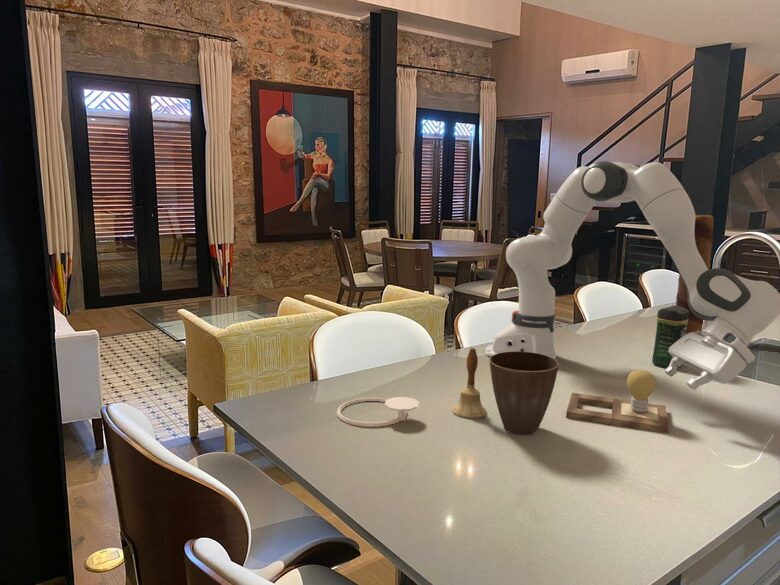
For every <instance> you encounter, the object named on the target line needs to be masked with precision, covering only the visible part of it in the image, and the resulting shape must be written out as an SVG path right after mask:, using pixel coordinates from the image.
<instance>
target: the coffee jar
mask: <svg viewBox="0 0 780 585" xmlns="http://www.w3.org/2000/svg"><path fill="white" fill-rule="evenodd" d="M688 318H689V311H688V310H687V309H686V308H685V307H680V306H676V305H671V306H668V307H667V306H666V307H663V308H659V309H658V310H657V315H656V331H655V340H654V346H653V352H652V358H651V359H652V360H651V362H652V364H653V365H655V366H657V367H661V368H664V369H666V368H668V367H669V365H670V362H671V360H672V358H673V357H672V356H671V355H670V354H669V352H668V350H669V348H670V346H672V345H673V344H674V343H675V342H676V341H678V340H679V339H680V338H682V337H683V336H684V335H686V330H687V324H688ZM679 367H680V366H678V368H679Z"/></svg>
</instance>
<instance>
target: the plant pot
mask: <svg viewBox="0 0 780 585" xmlns="http://www.w3.org/2000/svg"><path fill="white" fill-rule="evenodd" d="M489 357H490V358H488V359H489V368H490V376H491V383H492V389H493V393H494V395H493V396H494V398H495V399H494V400H495V403H496V406H497V410H498V414H499V416H500V419H501V423H502V425H503V427H504V430H505V431H506V432H508V433H511V434H514V435H520V436H530V435H533V434H535V433H537V432H538V430H539V428H540V426H541V423H542V421H543V420H544V417H545V415H546V411H547V409H548V407H549V404H550V401H551V398H552V395H553V391H554V388H555V383H556V379H557V375H558V370H559V365H560V364H559V361H558V360H557V359H554V358H552V357H549V356H546V355H542V354H538V353H531V352H503V353H498V354H495V355H493V356H489Z"/></svg>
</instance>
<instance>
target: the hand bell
mask: <svg viewBox="0 0 780 585" xmlns="http://www.w3.org/2000/svg"><path fill="white" fill-rule="evenodd" d="M478 360H479V358H478V354H477V350H476V347H475V348H474V347H471V348H470V349H469V351H468V353H467V356H466V370H467V383H466V387H465V388H462V389H461V391H460V395H459V396H460V397H459V400H458V402H457V403H456V405H454V406H453V408H452V409H451V411H452V413H453V414H454V415H456V416H457V417H460V418H463V417H465V419H480V418H481V419H482V418H484V417H486V415H487V414H488V413H487V409H486V408H485V407H484V405H482V401H481V394H480V393H481V392H480V390H478V389H477V388H476V387H475V375H476V371H477V368H478V363H479V361H478Z"/></svg>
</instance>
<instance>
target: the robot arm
mask: <svg viewBox="0 0 780 585" xmlns="http://www.w3.org/2000/svg"><path fill="white" fill-rule="evenodd" d="M597 202H603V203H609V204H610V203H611V204H619V203H627V204H630V203H637V205H638V207H639V209H640V211H641V213H642V215H643V216H644V218H645V219H646V221H647V222H648V224H649V225H650V227H651V229H653V231H654V232H655V234H656V235H657V237H658V238H659V240H660V241H661V242H662V244H663V246H664V247H665V249H666V250H667V252H668V254H669V256H670V257H671V259H672V262H673V264H674V265H675V267H676V269H677V272H678V274H679V273H680V275H681V277H682V279H683V281H684V283H685V285H686V288H687V296H688V306H689V308H690V310H691V312H692V313H693V314H694V315H695V316H697V317H698V318H700V319H703V320H705V322H706V321H707V322H708V321H709V322H710V323H709V324H708V325H707V326H706V327H704V330H703V331H697V332H692V333H688V334H686V335H684V336H683V337H682V338H680V339H679V340H678V341H676V342H675V343H674V344H673V345H672V346H670V348H669V350H668V352H669V354H670V355H671V356H672V357H673V358H672V360H671V362H670V365H669V367H666V368H664V373H666V375H667V376H669V377H671V378H672V377H674V375H676V374H677V369H678V368H679V367H681V366H683V365H685V366H687V367H689V368H691V369H693V370H695V371H697V372H698V373H700V375H699V376H698V377H696V378H690V380H689V381H687V382H686V383H687V384H686V385H687V386H688V387H689V388H690V389H692V390H694V391H696V390H697V389H698V388H699V387H701V386H703V385H706V384H709V383H710V382H712V380H714V381H716V382H717V383H720V384H726V383H730V382H731V381H733V380H734V379H735V378H736V377H737V376H739V374H741V372H742V371H743V370H744V369H745V368H746V366H747V364H751V363H753V361H755V360H756V356H755V354H753V353H752V351H751V350H750V349H749V347H748V345H750V344H751V342H752V341H753V339H754V338H755V336H756V335H758V334H760V333H762V332H763V331H765V330H766V329H767V328H768V327H769V326H770V325H771V324H772V323H773V322H774V321H775V320H776V319H777V318H778V316H779V315H780V291H778V289H777V288H776V287H775V286H774V285H772V284H770V283H769V282H767V281H764V280H753V279H748V278H744V277H742V276H739V275H738V274H735V273H733V272H732V271H730V270H728V269H725V268H722V267H721V268H720V267H718V268H717V267H715V268H710V269H709V270H708V269H707V267H706V265H705V263H704V261H703V259H702V257H701V256H700V254H699V252H698V250H697V247H696V243H695V235H694V231H695V215H696V211H695V208H694V206H693V203H692V200H691V199H690V196H689V195H688V193H687V192H686V190H685V188H684V186H683V185H682V184H681V182H680V180H678V178H677V177H676V176H675V174H674V173H672V171H671V170H670V169H669V168H668V167H666V165H665V164H664V163H661V162H657V161H654V162H648V163H645V164H643V165H642V166H641V165H638V164H633V163H632V164H631V163H628V162H625V161H624V162H623V161H608V160H603V161H602V160H601V161H598V162H594V163H592V164H590V165H588V166H586V165H585V166H579V167H577V168H576V169H574V170H573V172H572V173H571V174H570V175H569V176H568V177H567V178H566V179H565V181H564V182H563V183H562V185H560V187H559V189H558V190H557V192H556V193H555V195H554V196H553V198H552V200H551V202H550V203H549V205H548V206H547V207H546V209H545V210H544V212H543V214H542V215H543V216H542V217H543V218H542V219H543V220H544V225H543V228H542V231H541V232H540V233H539V234H537V235H529V236H527V235H526V236H522V237H519V238H517V239H515V240H513V241H511V242H510V243H509V244H508V246H507V247H506V249H505V250H506V251H505V259H506V263H507V264H508V266H509V267H510V268H511V269H512V271H513V272H514V273H515V275H516V280H517V284H518V285H517V286H518V310H517V309H514V311H512V312H511V313H512V314H511V323H509V324H507V325H506V326H504V327H503V328H501V329H500V330H498V331H497V332H496V333H495V335H494V337H493V341H492V344H489V345H488V346H487V347H486V348H485V351H484V353H485V355H486V356H488V357H491V356H493V355H495V354H498V353H503V352H531V353H538V354H542V355H546V356H549V357H552V358H554V359H555V360H557V359H556V358H557V355H556V350H555V343H554V342H555V339H554V331H555V328H556V314H555V300H556V290H555V287H553V286H552V284H551V283H550V281H549V278H548V271H549V270H554V269H558V268H560V267H562V266H564V265H566V264H567V263H569V261H570V260H571V258H572V256H573V247H572V242H573V240H574V237H575V235H576V233H577V232H578V230H579V229H580V227H581V226H582V224H583V222H584V221H585V219H586V218H587V217H588V214H590V212H591V211H592V209H593V207H594V205H596V204H597ZM678 366H679V367H678Z"/></svg>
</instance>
